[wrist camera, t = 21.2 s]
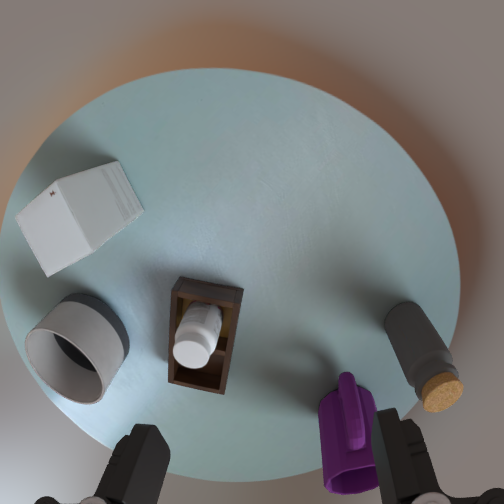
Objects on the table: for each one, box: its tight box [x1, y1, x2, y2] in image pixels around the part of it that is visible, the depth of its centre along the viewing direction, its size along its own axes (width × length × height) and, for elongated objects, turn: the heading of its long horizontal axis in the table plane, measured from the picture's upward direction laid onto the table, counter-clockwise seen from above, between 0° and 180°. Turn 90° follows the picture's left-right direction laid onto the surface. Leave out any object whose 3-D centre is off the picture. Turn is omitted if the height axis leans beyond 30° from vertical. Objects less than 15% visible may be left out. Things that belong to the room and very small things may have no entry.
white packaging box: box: [15, 161, 144, 277], centre depth 31 cm, size 7×7×13 cm
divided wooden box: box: [168, 277, 244, 395], centre depth 41 cm, size 8×15×4 cm, turn 170°
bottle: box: [385, 302, 463, 412], centre depth 33 cm, size 6×6×15 cm
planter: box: [25, 294, 129, 404], centre depth 39 cm, size 13×13×10 cm
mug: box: [318, 372, 379, 495], centre depth 38 cm, size 9×16×15 cm, turn 14°
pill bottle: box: [173, 300, 223, 368], centre depth 37 cm, size 5×5×8 cm
